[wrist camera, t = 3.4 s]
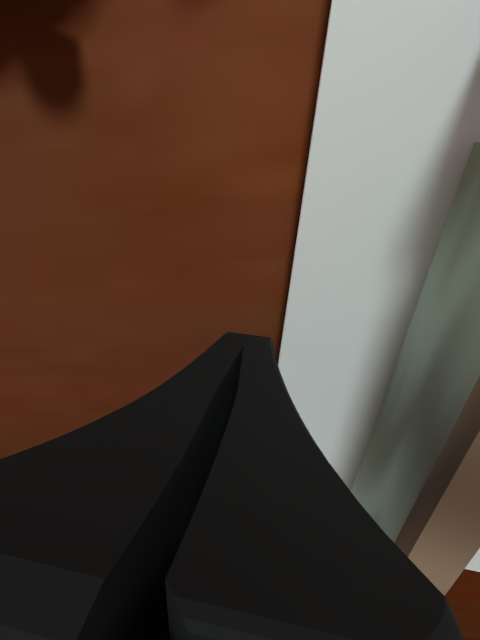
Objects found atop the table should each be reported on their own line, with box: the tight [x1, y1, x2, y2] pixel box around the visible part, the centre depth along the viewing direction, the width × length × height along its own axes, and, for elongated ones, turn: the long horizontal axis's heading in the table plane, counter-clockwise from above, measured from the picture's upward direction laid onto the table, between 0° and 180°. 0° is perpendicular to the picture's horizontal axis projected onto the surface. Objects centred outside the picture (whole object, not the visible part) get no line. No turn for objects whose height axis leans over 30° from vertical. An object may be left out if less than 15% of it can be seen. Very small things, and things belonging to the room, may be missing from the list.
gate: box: [351, 142, 480, 596], centre depth 9 cm, size 15×2×4 cm, turn 176°
